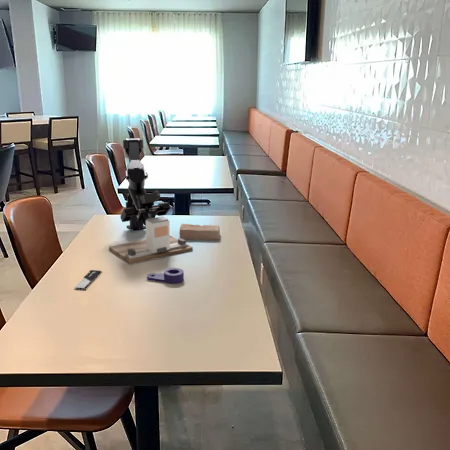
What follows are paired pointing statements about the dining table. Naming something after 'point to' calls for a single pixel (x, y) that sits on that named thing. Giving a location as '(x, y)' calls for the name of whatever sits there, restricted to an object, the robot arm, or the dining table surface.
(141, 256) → the board
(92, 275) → the computer memory module
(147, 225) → the relay module
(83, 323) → the dining table surface
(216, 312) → the dining table surface
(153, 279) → the lever
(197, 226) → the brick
